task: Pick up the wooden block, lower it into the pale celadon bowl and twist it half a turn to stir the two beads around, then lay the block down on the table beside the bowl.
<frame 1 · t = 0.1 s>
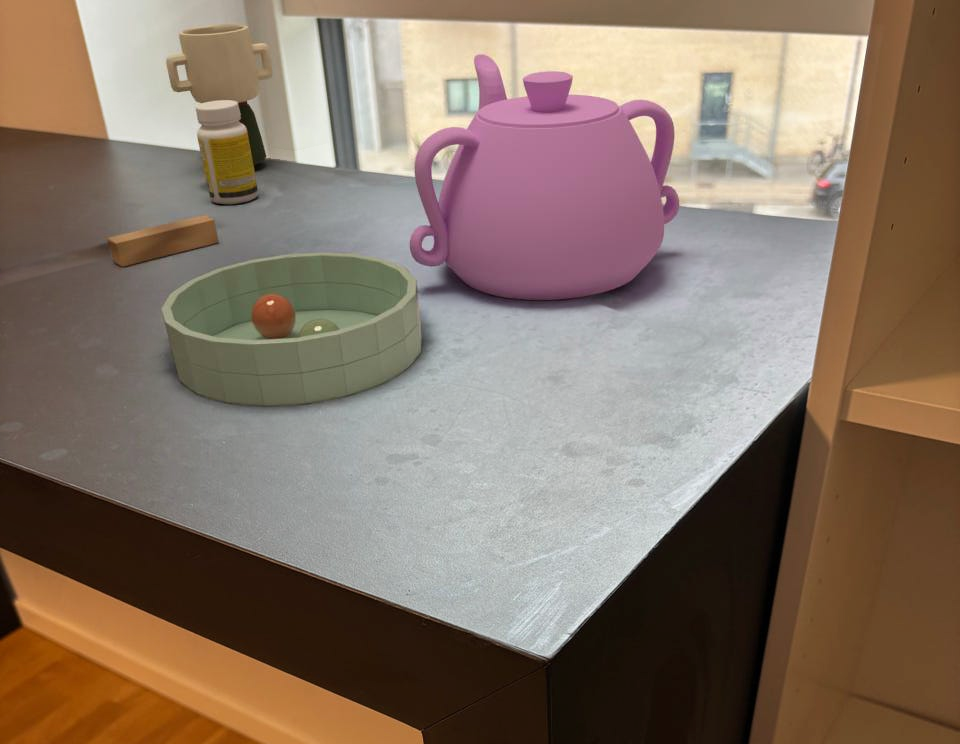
wooden block: (167, 252, 88), on the table
character mug: (239, 169, 110), on the table
terracotta bead: (277, 338, 70), point 1 cm above the table, touching bowl
bowl: (301, 360, 68), on the table
sage bead: (324, 365, 65), point 1 cm above the table, touching bowl
supplement bottle: (235, 200, 100), on the table
teapot: (536, 269, 80), on the table
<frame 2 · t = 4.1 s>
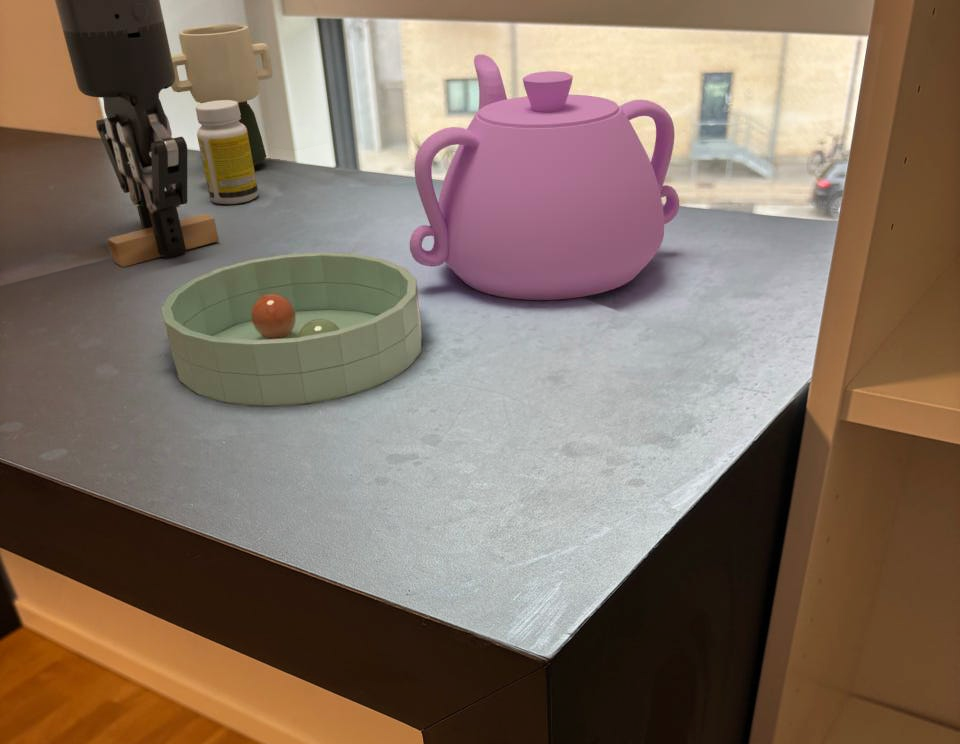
hand: (167, 251, 88), 0 cm above the table, tool pointing down, fingers closed on wooden block, 2 cm apart
wooden block: (167, 251, 88), on the table, touching gripper
everything else where it was.
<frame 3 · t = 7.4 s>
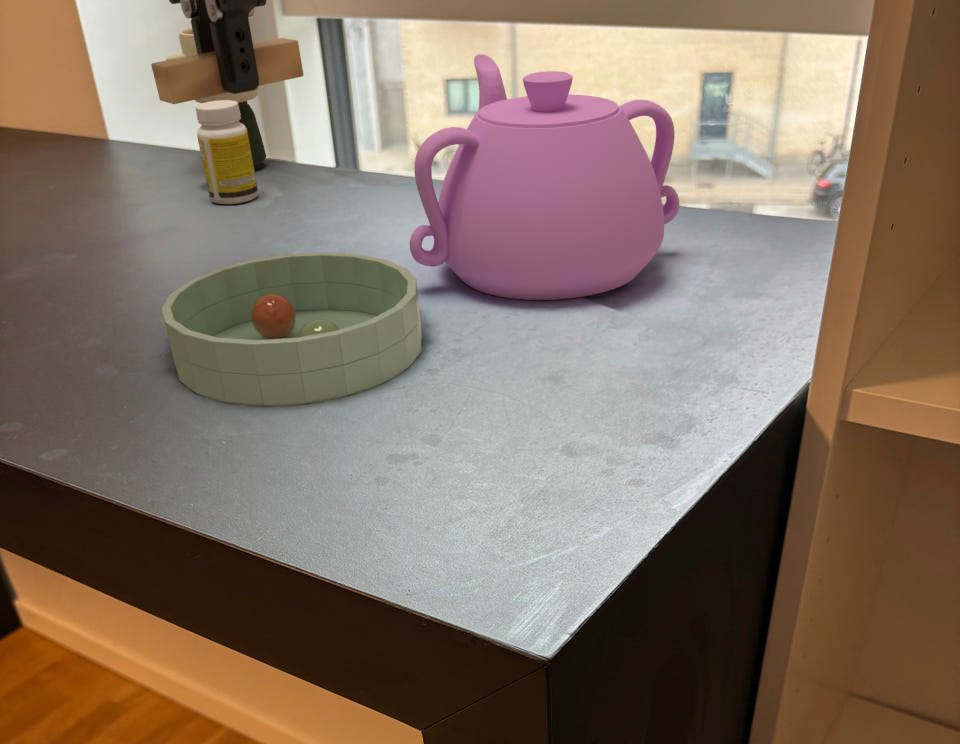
hand: (232, 87, 62), 16 cm above the table, tool pointing down, fingers closed on wooden block
wooden block: (233, 88, 63), point 15 cm above the table, touching gripper
everything else where it was.
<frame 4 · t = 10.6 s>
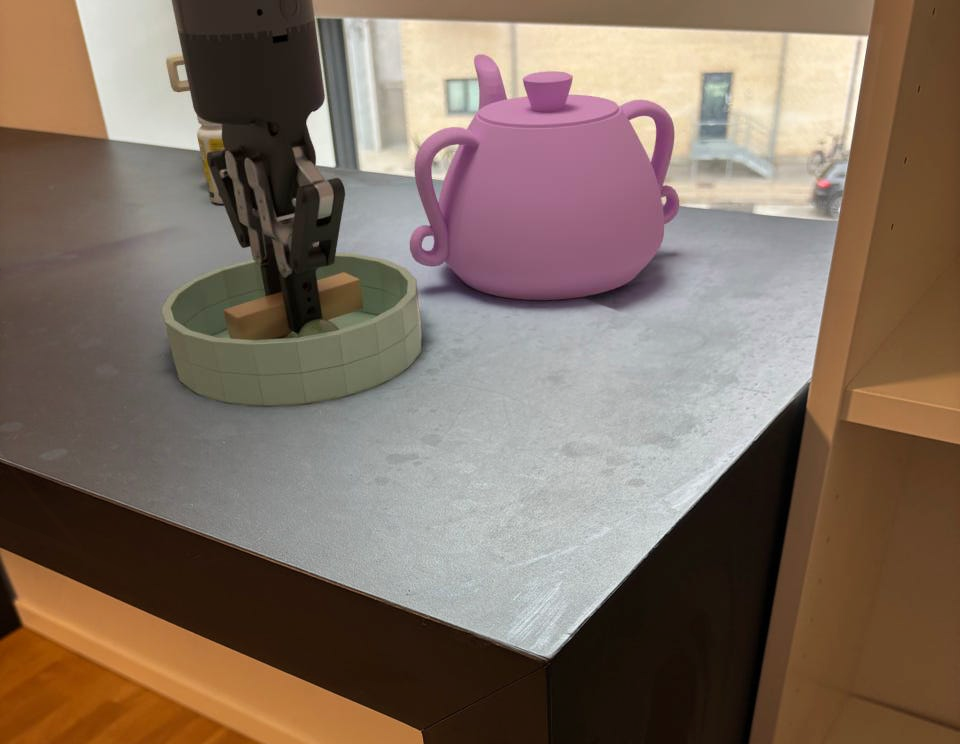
hand: (297, 323, 66), 3 cm above the table, tool pointing down, fingers closed on wooden block, 2 cm apart
wooden block: (298, 323, 66), point 2 cm above the table, touching gripper
terracotta bead: (277, 338, 70), point 1 cm above the table, touching bowl, gripper
sage bead: (324, 366, 66), point 1 cm above the table, touching bowl, gripper
everything else where it was.
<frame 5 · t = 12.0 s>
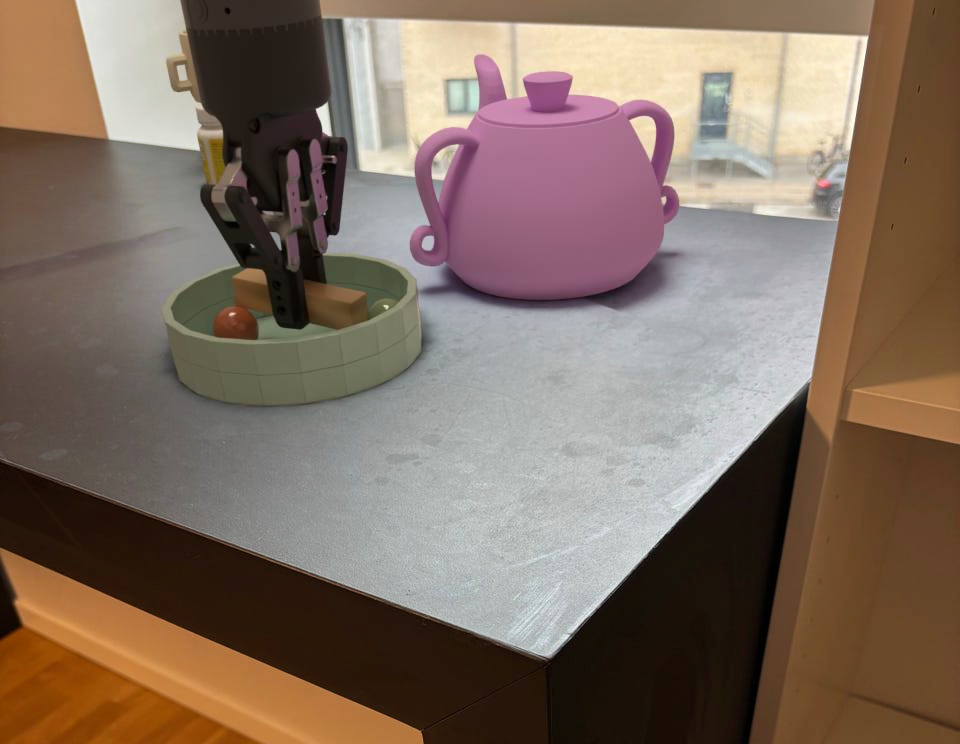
hand: (303, 318, 67), 3 cm above the table, tool pointing down, fingers closed on wooden block, 2 cm apart
wooden block: (301, 314, 67), point 3 cm above the table, touching gripper, sage bead, terracotta bead
terracotta bead: (254, 317, 67), point 3 cm above the table, tilted 109°, touching bowl, wooden block
sage bead: (389, 299, 66), point 4 cm above the table, tilted 169°, touching bowl, wooden block
everything else where it was.
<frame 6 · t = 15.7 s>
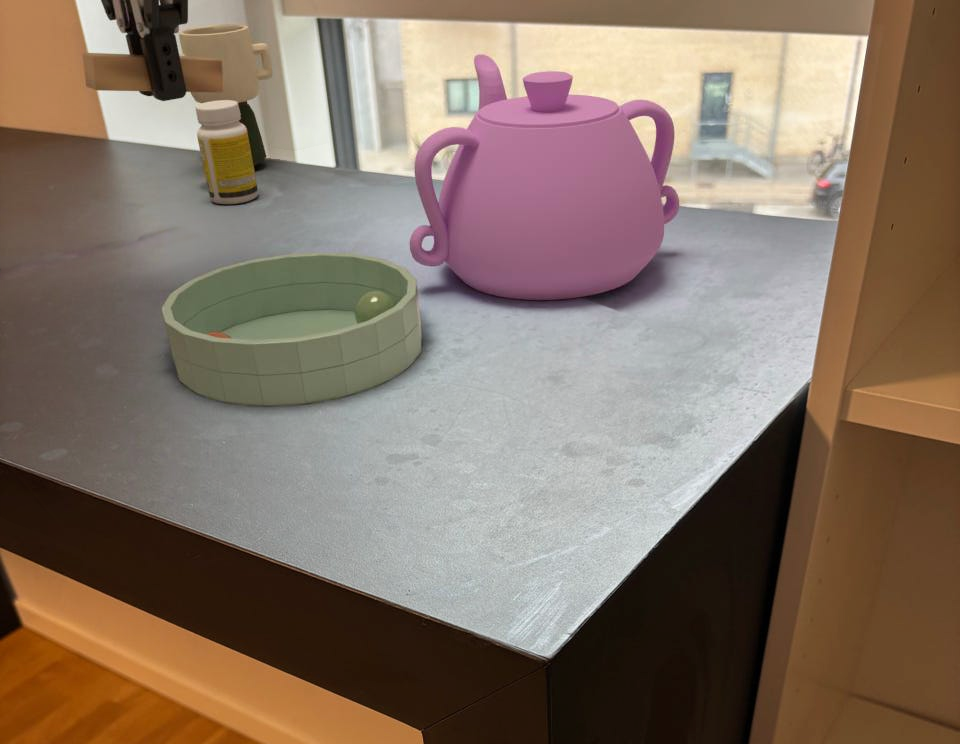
hand: (162, 95, 70), 14 cm above the table, tool pointing down, fingers closed on wooden block
wooden block: (156, 89, 70), point 14 cm above the table, tilted 9°, touching gripper
terracotta bead: (231, 370, 63), point 2 cm above the table, tilted 69°, touching bowl
sage bead: (369, 293, 67), point 4 cm above the table, tilted 168°, touching bowl
everything else where it was.
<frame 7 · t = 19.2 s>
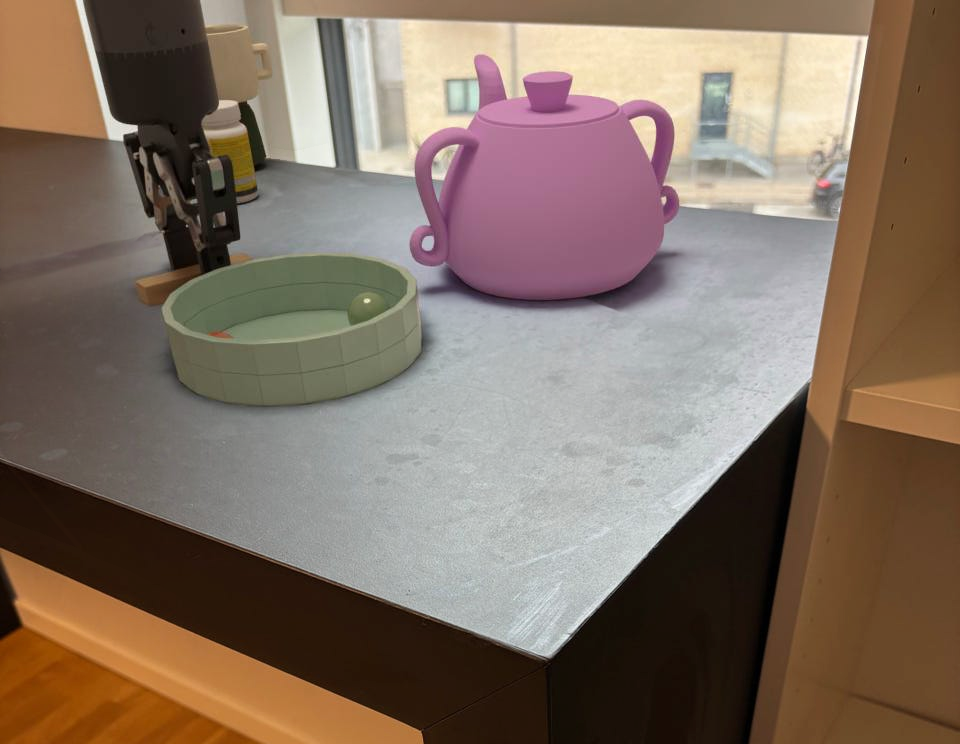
hand: (204, 286, 79), 0 cm above the table, tool pointing down, fingers open, 5 cm apart
wooden block: (201, 295, 79), on the table
sage bead: (356, 298, 67), point 3 cm above the table, tilted 149°, touching bowl
everything else where it was.
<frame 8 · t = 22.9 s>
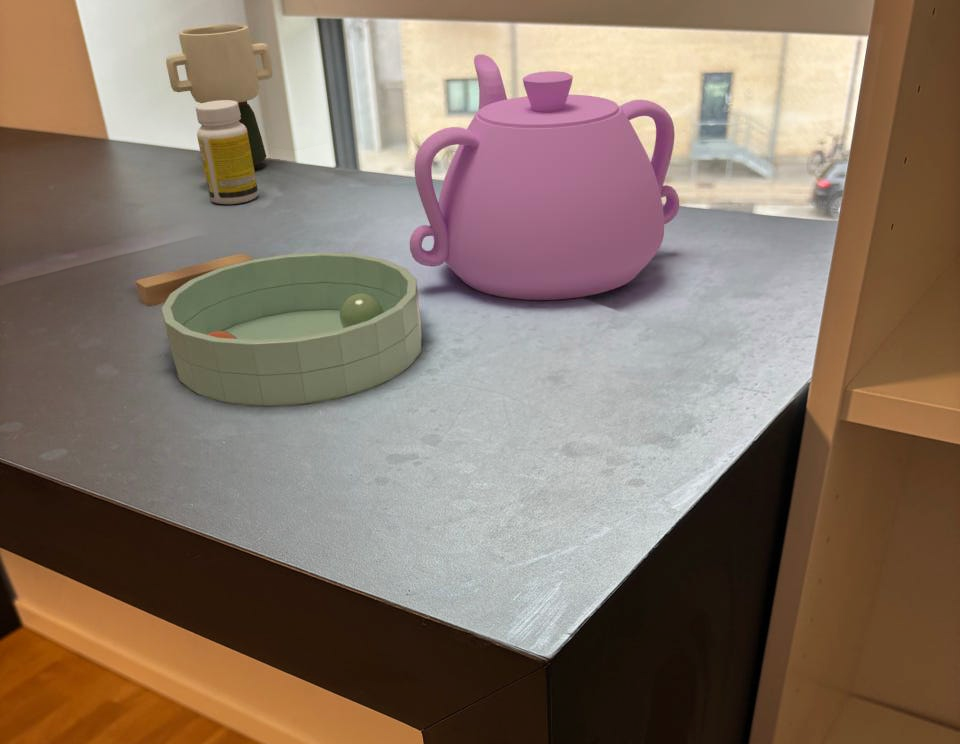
sage bead: (343, 305, 67), point 3 cm above the table, tilted 128°, touching bowl
everything else where it was.
at the end: terracotta bead moved 7.5 cm from its start; terracotta bead inside the target area in the bowl (5.9 cm from its centre), point 1.5 cm above the bowl's base; wooden block inside the target area (0.5 cm from its centre), on the table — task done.
